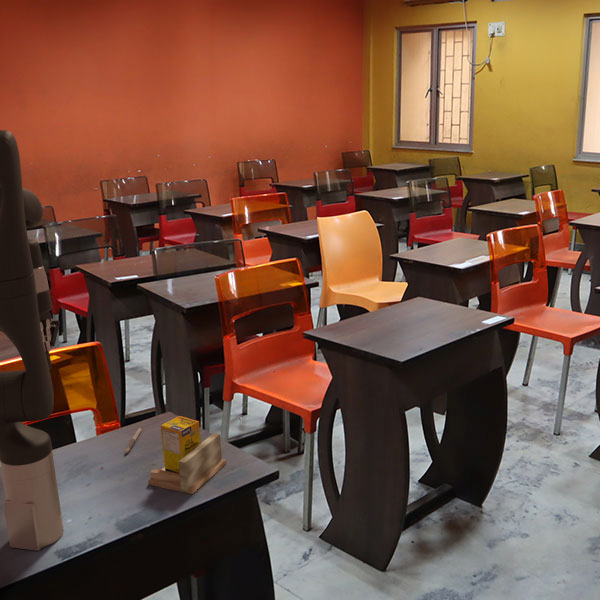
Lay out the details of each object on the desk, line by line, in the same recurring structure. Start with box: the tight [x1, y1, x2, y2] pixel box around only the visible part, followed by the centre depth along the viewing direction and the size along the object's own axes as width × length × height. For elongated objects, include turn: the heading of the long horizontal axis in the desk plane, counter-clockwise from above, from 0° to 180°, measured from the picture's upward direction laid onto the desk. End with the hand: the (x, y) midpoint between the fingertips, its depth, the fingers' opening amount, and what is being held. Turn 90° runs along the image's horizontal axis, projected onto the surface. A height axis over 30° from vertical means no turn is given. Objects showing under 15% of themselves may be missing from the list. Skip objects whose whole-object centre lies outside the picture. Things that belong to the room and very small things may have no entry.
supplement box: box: [160, 415, 202, 474], centre depth 164 cm, size 6×6×11 cm
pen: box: [124, 425, 143, 454], centre depth 181 cm, size 1×14×1 cm, turn 176°
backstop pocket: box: [147, 432, 227, 495], centre depth 164 cm, size 14×11×7 cm
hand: (45, 369), depth 161 cm, fingers closed
